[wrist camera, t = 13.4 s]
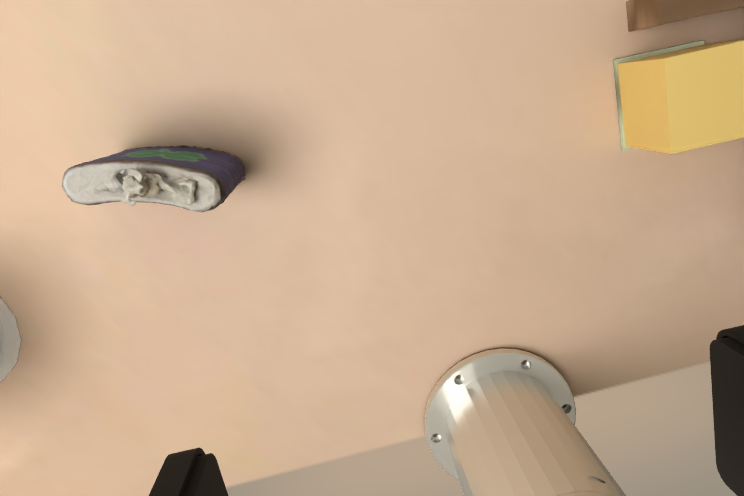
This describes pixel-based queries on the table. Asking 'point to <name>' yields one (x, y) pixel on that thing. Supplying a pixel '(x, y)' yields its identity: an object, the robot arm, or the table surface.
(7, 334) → the french press
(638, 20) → the brown l-shaped piece
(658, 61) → the cube
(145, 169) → the purple clover tin
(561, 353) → the table surface
